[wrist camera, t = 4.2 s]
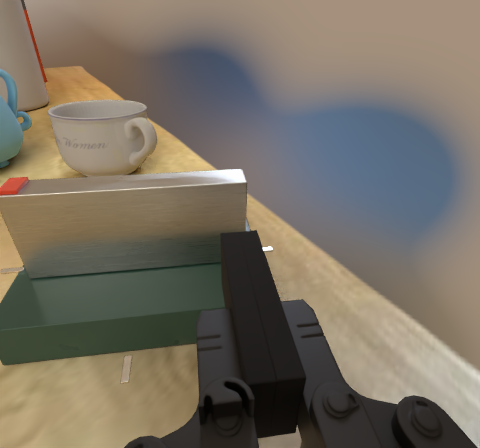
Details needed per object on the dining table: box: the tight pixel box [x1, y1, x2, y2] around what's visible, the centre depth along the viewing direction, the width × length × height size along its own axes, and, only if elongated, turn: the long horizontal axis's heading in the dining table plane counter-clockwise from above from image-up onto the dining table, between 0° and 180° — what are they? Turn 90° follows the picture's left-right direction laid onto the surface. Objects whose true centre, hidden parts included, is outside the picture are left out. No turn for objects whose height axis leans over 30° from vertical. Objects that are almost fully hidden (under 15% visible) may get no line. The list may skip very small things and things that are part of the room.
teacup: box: [48, 100, 157, 177], centre depth 40 cm, size 14×11×8 cm
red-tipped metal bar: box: [0, 169, 247, 279], centre depth 21 cm, size 14×2×6 cm, turn 98°
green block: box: [0, 218, 272, 384], centre depth 24 cm, size 18×18×3 cm
